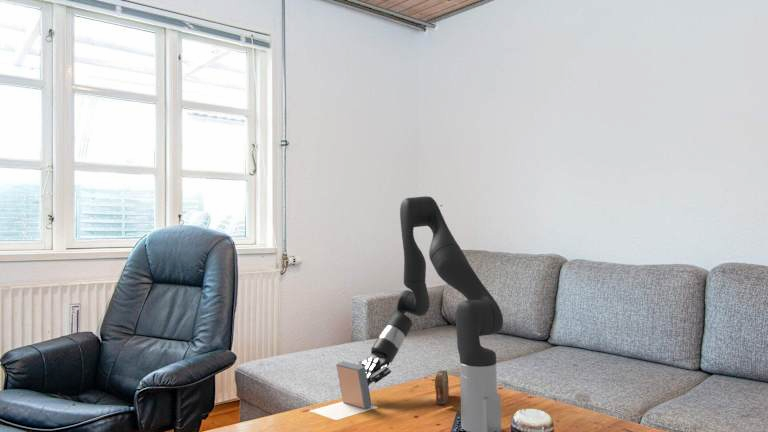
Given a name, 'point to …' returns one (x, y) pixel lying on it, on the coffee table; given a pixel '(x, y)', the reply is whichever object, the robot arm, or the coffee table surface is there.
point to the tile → (354, 385)
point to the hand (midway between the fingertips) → (359, 391)
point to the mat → (340, 410)
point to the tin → (441, 387)
